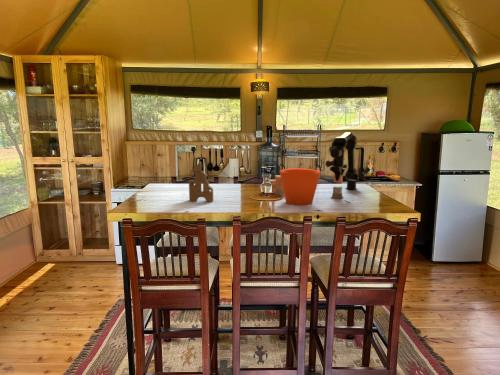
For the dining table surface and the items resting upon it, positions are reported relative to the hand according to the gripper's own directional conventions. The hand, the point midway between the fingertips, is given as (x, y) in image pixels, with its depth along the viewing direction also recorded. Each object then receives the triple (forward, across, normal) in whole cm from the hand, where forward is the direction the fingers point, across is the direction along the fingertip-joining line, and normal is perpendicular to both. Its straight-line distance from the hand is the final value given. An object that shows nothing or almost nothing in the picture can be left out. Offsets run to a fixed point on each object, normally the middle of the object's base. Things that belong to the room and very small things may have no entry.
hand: (338, 180), depth 230 cm
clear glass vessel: (+12, +6, -41) cm, 43 cm away
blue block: (+9, 0, 0) cm, 9 cm away
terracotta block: (+1, 0, 0) cm, 1 cm away
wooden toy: (+12, +55, -71) cm, 90 cm away
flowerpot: (+12, +26, -16) cm, 33 cm away
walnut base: (+12, 0, 0) cm, 12 cm away
